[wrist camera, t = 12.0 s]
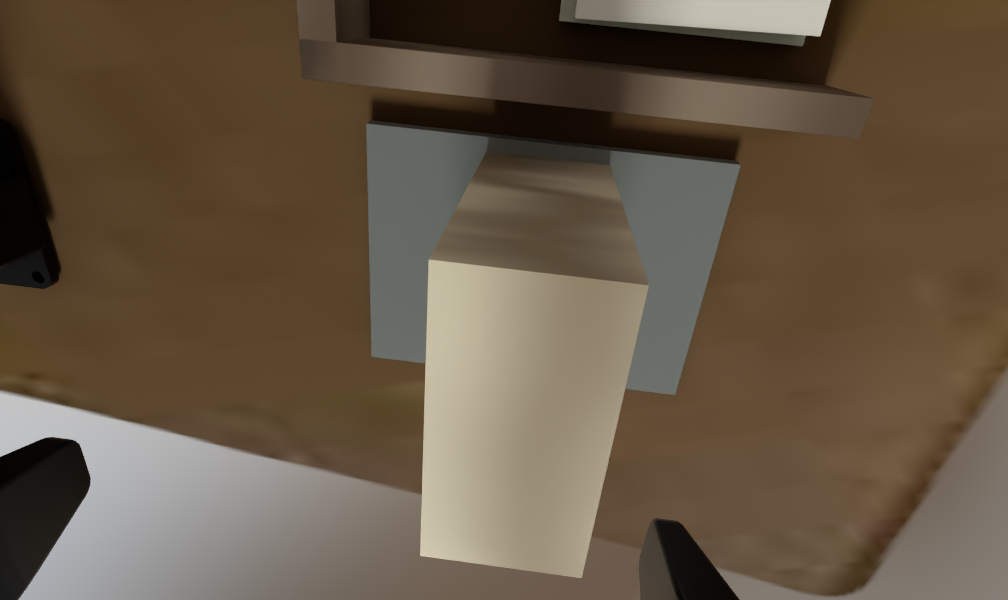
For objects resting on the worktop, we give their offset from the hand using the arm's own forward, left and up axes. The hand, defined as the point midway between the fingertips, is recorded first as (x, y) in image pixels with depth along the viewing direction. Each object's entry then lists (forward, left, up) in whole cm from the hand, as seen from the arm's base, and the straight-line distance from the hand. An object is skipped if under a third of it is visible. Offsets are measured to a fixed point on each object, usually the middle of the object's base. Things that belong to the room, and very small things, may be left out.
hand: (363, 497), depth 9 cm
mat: (+2, -1, -13) cm, 13 cm away
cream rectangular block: (+2, -1, -12) cm, 12 cm away
